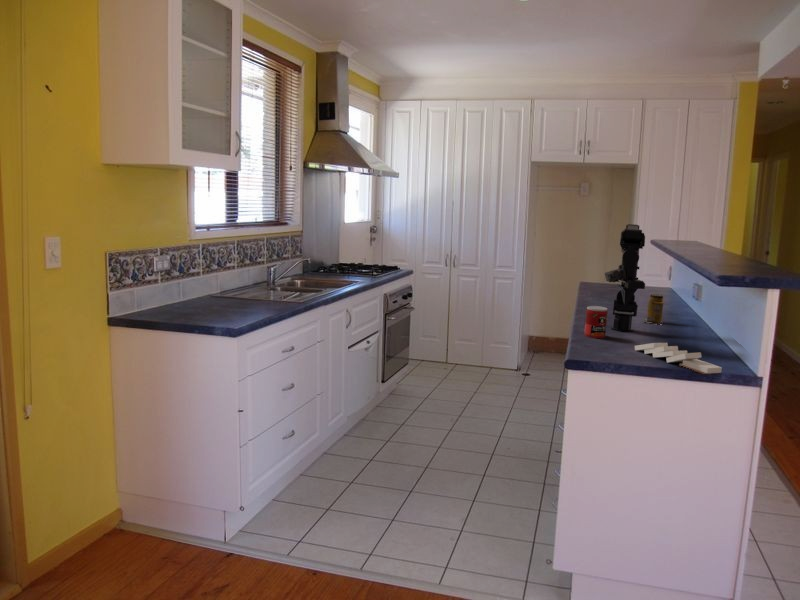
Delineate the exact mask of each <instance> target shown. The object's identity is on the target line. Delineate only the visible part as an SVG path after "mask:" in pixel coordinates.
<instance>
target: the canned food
mask: <svg viewBox="0 0 800 600" xmlns="http://www.w3.org/2000/svg"><path fill="white" fill-rule="evenodd" d="M608 310H609V309H608V308H607V307H604V306H599V305H598V306H597V305H588V306H587V307H586V312H585V313H586V314H585V323H584V324H585V326H584V335H585V337H587V338H591V337H592V339H603V338H605V337H606V332H607V321H608V312H609V311H608Z"/></svg>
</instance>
